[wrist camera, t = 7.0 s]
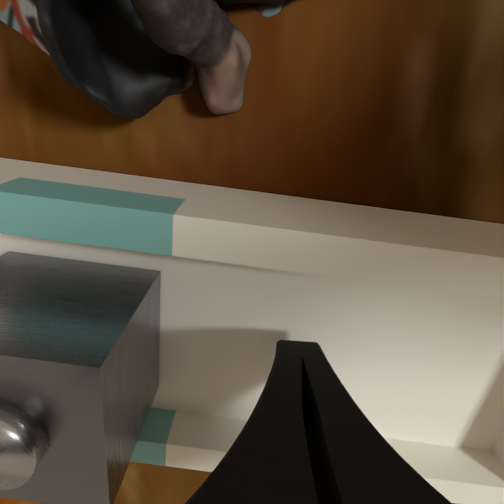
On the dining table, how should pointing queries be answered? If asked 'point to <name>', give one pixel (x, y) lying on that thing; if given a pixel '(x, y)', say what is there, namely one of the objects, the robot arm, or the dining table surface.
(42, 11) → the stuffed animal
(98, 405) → the rider
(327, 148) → the dining table surface
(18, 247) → the white rectangular tray
